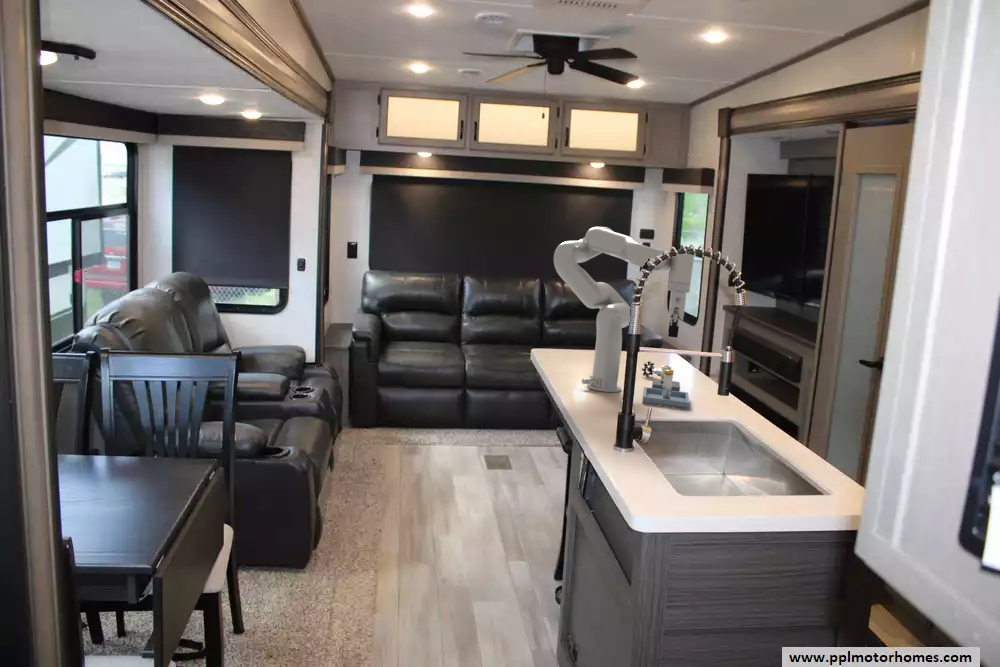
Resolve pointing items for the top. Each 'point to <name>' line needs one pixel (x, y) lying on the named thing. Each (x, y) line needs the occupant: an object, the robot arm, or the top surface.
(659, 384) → the block
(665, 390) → the lock pin
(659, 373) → the valve
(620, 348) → the robot arm
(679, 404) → the parts tray
